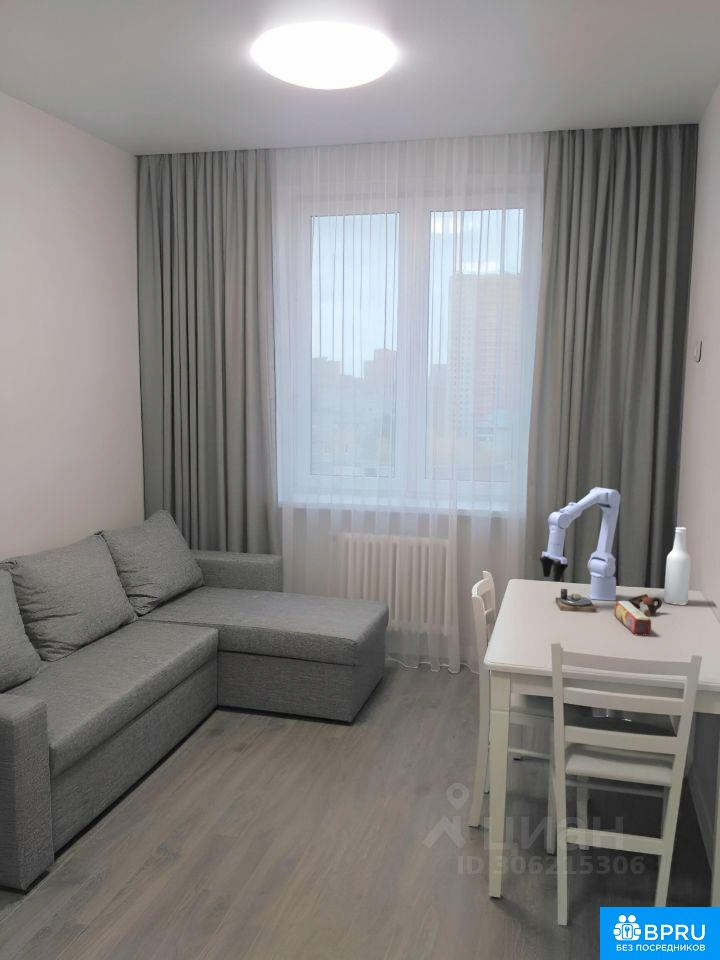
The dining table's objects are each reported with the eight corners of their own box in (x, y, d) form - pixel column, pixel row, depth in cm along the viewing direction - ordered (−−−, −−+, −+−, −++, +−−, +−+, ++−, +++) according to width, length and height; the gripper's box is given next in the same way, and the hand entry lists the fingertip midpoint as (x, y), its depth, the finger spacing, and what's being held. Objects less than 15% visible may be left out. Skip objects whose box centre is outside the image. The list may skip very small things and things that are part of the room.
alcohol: (660, 599, 308) (666, 525, 305) (683, 600, 308) (689, 526, 304) (667, 605, 300) (673, 529, 296) (690, 606, 299) (696, 530, 296)
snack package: (652, 636, 259) (653, 617, 258) (632, 635, 259) (633, 616, 259) (631, 618, 280) (632, 600, 280) (612, 617, 280) (614, 599, 280)
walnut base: (589, 603, 299) (589, 599, 299) (596, 612, 286) (596, 608, 286) (555, 601, 300) (555, 597, 300) (560, 610, 287) (560, 606, 287)
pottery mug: (639, 619, 281) (631, 597, 284) (630, 623, 290) (622, 602, 293) (669, 610, 282) (661, 589, 285) (659, 615, 291) (651, 594, 294)
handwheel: (587, 599, 298) (588, 587, 297) (593, 607, 287) (593, 594, 286) (558, 597, 299) (558, 585, 299) (562, 605, 288) (563, 592, 288)
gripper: (536, 539, 298) (532, 574, 299) (557, 546, 284) (552, 582, 285) (552, 541, 300) (548, 575, 301) (573, 547, 287) (569, 583, 288)
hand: (551, 578), depth 293 cm, fingers open, 7 cm apart
